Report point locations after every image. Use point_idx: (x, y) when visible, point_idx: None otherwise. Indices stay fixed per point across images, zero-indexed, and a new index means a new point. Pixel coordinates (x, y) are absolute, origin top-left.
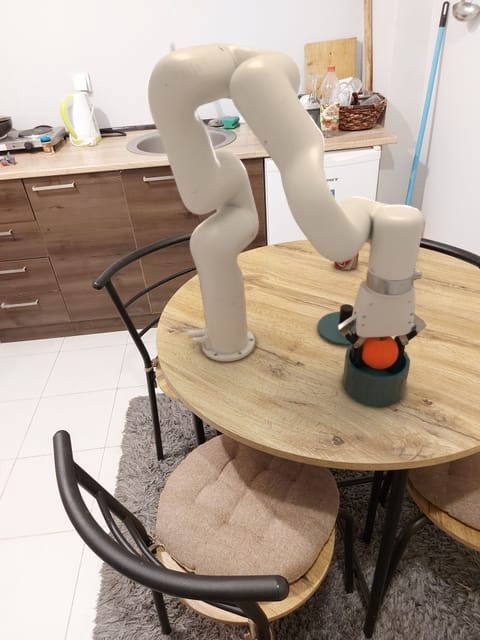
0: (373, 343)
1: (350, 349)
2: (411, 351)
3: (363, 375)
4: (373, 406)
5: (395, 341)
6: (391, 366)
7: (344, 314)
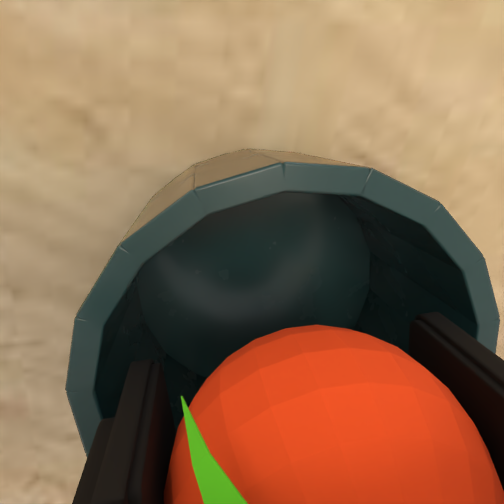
0: None
1: (105, 319)
2: (499, 21)
3: None
4: None
5: (500, 434)
6: (366, 218)
7: None
